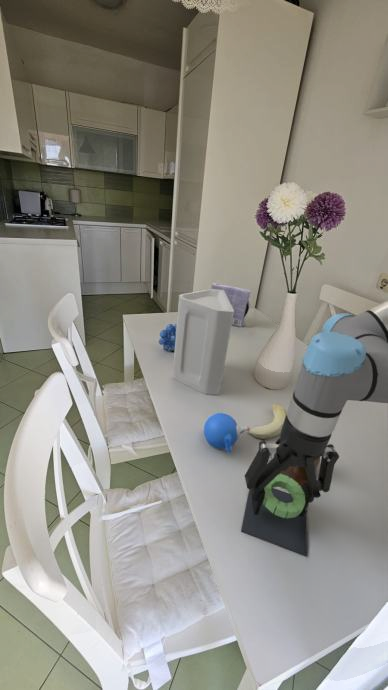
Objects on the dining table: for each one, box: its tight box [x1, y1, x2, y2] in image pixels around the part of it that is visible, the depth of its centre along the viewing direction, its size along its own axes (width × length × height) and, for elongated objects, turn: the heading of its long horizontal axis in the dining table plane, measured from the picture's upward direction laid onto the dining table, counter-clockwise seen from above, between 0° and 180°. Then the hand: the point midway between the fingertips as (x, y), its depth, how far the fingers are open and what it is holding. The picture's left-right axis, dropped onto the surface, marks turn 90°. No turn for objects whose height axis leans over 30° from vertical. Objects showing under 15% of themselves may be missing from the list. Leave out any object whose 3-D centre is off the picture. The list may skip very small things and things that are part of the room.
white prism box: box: [172, 288, 234, 396], centre depth 96 cm, size 19×15×28 cm
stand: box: [279, 457, 321, 487], centre depth 69 cm, size 11×11×11 cm
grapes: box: [158, 322, 177, 352], centre depth 115 cm, size 12×7×12 cm, turn 94°
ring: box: [263, 474, 305, 518], centre depth 59 cm, size 8×8×2 cm
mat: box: [240, 487, 307, 557], centre depth 62 cm, size 12×12×1 cm
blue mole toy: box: [203, 412, 251, 454], centre depth 76 cm, size 12×12×8 cm
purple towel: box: [210, 282, 251, 328], centre depth 144 cm, size 19×5×18 cm, turn 72°
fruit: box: [246, 402, 287, 440], centre depth 84 cm, size 7×15×3 cm, turn 138°
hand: (277, 509), depth 61 cm, fingers closed on ring, 8 cm apart
